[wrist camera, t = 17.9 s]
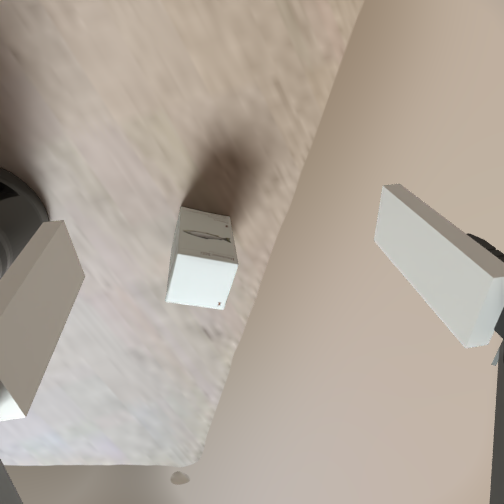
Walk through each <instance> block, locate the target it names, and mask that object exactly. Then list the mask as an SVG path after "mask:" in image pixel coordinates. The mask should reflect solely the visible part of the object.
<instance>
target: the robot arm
mask: <svg viewBox="0 0 504 504" xmlns="http://www.w3.org/2000/svg"><path fill="white" fill-rule="evenodd" d="M374 242H375V243H376V244H377V245H378V246H379V247H380V248H381V250H382V251H383V252H384V253H385V254H386V256H387V257H388V258H389V259H390V260H391V262H392V263H393V264H394V265H395V266H396V267H397V269H398V270H399V271H400V272H401V273H402V274H403V276H404V277H405V278H406V279H407V280H408V281H409V283H410V284H411V285H412V286H413V287H414V288H415V290H416V291H417V292H418V293H419V294H420V296H421V297H422V298H423V299H424V300H425V302H426V303H427V304H428V305H429V306H430V307H431V309H432V310H433V311H434V312H435V313H436V314H437V316H438V317H439V318H440V319H441V320H442V321H443V323H444V324H445V325H446V326H447V327H448V329H449V330H450V331H451V332H452V333H453V334H454V336H455V337H456V338H457V339H458V340H459V341H460V342H461V344H462V345H463V346H464V347H465V348H470V347H477V346H483V345H488V344H489V341H490V339H491V337H492V335H493V332H494V330H495V331H496V332H497V333H498V334H499V335H500V336H501V337H502V338H503V341H502V343H501V345H500V347H499V350H498V352H497V354H496V356H495V358H494V360H493V362H492V365H495V366H496V364H497V362H498V361H499V362H498V378H497V394H496V395H497V396H496V410H495V411H496V412H495V426H494V442H493V443H494V444H493V459H492V460H493V461H492V476H491V492H490V504H504V254H503V253H502V252H500V251H499V250H496V248H495V247H493V246H492V245H490V244H489V243H488V242H487V241H485V240H483V239H481V238H479V237H476V236H474V235H472V234H465V233H464V232H463V231H461V230H460V229H459V228H457V227H456V226H455V225H453V224H452V223H451V222H450V221H448V220H447V219H445V218H444V217H443V216H442V215H440V214H439V213H438V212H436V211H435V210H434V209H432V208H431V207H430V206H428V205H427V204H426V203H424V202H423V201H422V200H420V199H419V198H418V197H416V196H415V195H414V194H412V193H411V192H410V191H408V190H407V189H406V188H404V187H403V186H402V185H401V184H394V185H384V186H383V187H382V193H381V200H380V206H379V212H378V218H377V225H376V232H375V238H374ZM84 278H85V275H84V272H83V269H82V267H81V264H80V262H79V259H78V256H77V254H76V251H75V249H74V246H73V243H72V241H71V238H70V236H69V233H68V230H67V228H66V225H65V223H64V220H60V221H51V222H49V220H48V216H47V213H46V210H45V208H44V206H43V204H42V202H41V200H40V199H39V198H38V196H37V195H36V194H35V192H34V191H33V190H32V189H31V188H30V187H29V186H28V185H27V184H26V183H24V182H23V181H22V180H21V179H19V178H18V177H16V176H15V175H13V174H12V173H10V172H8V171H6V170H4V169H2V168H0V421H6V420H12V419H18V418H25V417H26V416H27V413H28V411H29V409H30V406H31V404H32V402H33V399H34V397H35V394H36V392H37V390H38V387H39V385H40V383H41V380H42V378H43V375H44V373H45V371H46V368H47V366H48V363H49V361H50V359H51V356H52V354H53V352H54V349H55V347H56V344H57V342H58V340H59V337H60V335H61V333H62V330H63V328H64V325H65V323H66V321H67V318H68V316H69V314H70V311H71V309H72V306H73V304H74V302H75V299H76V297H77V295H78V292H79V290H80V287H81V285H82V283H83V280H84ZM0 504H23V502H22V500H21V499H20V497H19V494H18V493H17V491H16V489H15V487H14V485H13V483H12V481H11V479H10V477H9V475H8V473H7V471H6V469H5V467H4V465H3V463H2V461H1V459H0Z"/></svg>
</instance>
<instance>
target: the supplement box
mask: <svg viewBox="0 0 504 504" xmlns="http://www.w3.org/2000/svg"><path fill="white" fill-rule="evenodd" d="M237 268H238V259H237V254H236V248H235V242H234V237H233V232H232V226H231V220H230V217H229V216H223V215H217V214H212V213H207V212H203V211H199V210H194V209H190V208H186V207H182V206H181V207H180V212H179V217H178V221H177V226H176V230H175V235H174V240H173V244H172V250H171V257H170V266H169V275H168V284H167V293H166V298H165V301H166V302H169V303H177V304H184V305H192V306H198V307H206V308H213V309H220V310H224V308H225V305H226V301H227V298H228V295H229V292H230V289H231V286H232V283H233V280H234V277H235V274H236V271H237Z"/></svg>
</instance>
